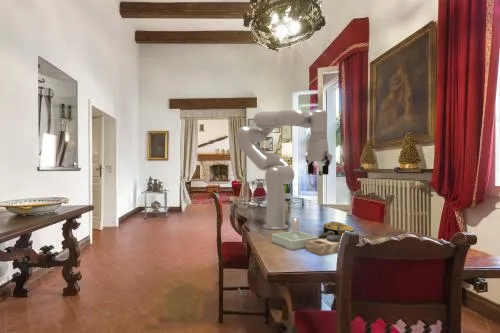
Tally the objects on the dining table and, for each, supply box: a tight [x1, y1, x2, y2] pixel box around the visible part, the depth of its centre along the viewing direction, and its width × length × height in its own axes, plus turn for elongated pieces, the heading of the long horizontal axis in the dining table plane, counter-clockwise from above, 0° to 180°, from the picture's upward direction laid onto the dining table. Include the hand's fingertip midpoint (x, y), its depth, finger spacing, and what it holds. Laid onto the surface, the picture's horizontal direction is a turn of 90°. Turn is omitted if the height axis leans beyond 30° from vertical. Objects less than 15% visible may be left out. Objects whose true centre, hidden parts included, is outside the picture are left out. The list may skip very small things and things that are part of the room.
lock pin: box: [290, 217, 300, 241], centre depth 129 cm, size 3×3×10 cm
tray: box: [271, 230, 319, 251], centre depth 129 cm, size 14×14×4 cm
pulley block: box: [316, 221, 357, 239], centre depth 144 cm, size 14×6×30 cm
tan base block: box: [305, 235, 342, 256], centre depth 120 cm, size 14×8×5 cm, turn 120°
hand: (317, 174), depth 146 cm, fingers open, 9 cm apart
